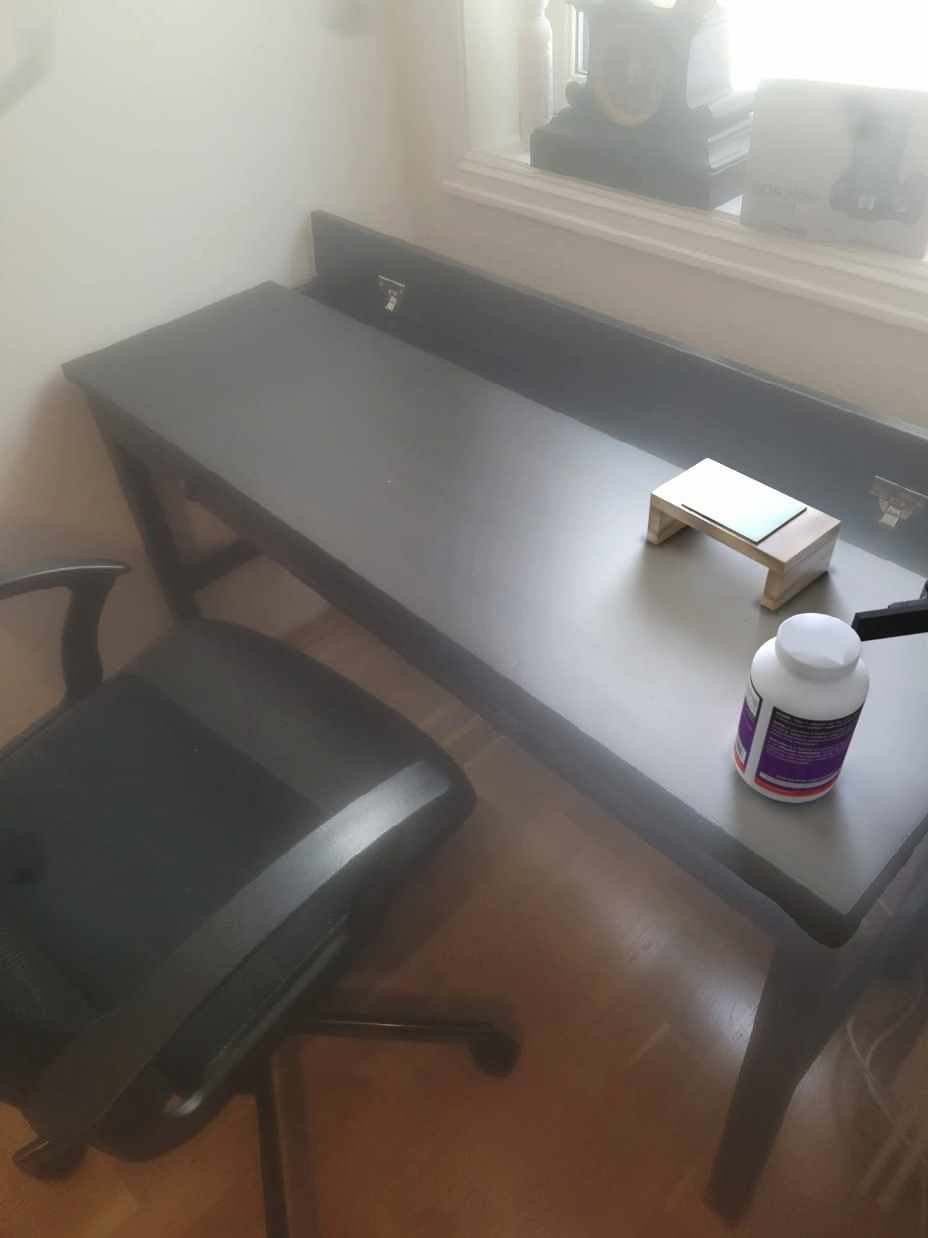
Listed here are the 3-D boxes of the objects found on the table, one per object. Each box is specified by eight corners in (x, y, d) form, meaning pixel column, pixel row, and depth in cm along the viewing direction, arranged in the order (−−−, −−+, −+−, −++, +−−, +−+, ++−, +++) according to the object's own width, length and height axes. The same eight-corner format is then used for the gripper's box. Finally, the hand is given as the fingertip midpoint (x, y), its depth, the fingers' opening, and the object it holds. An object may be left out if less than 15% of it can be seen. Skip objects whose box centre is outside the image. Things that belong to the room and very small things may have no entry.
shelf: (828, 569, 87) (842, 519, 82) (773, 611, 83) (785, 561, 79) (700, 503, 96) (707, 456, 92) (646, 538, 92) (650, 490, 88)
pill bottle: (858, 777, 68) (909, 648, 59) (786, 827, 66) (827, 700, 56) (779, 713, 74) (814, 585, 64) (709, 757, 71) (735, 630, 61)
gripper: (1268, 816, 59) (970, 861, 58) (1044, 583, 77) (814, 615, 77) (1335, 747, 54) (1010, 796, 53) (1078, 515, 72) (833, 548, 71)
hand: (894, 689), depth 65 cm, fingers open, 13 cm apart
